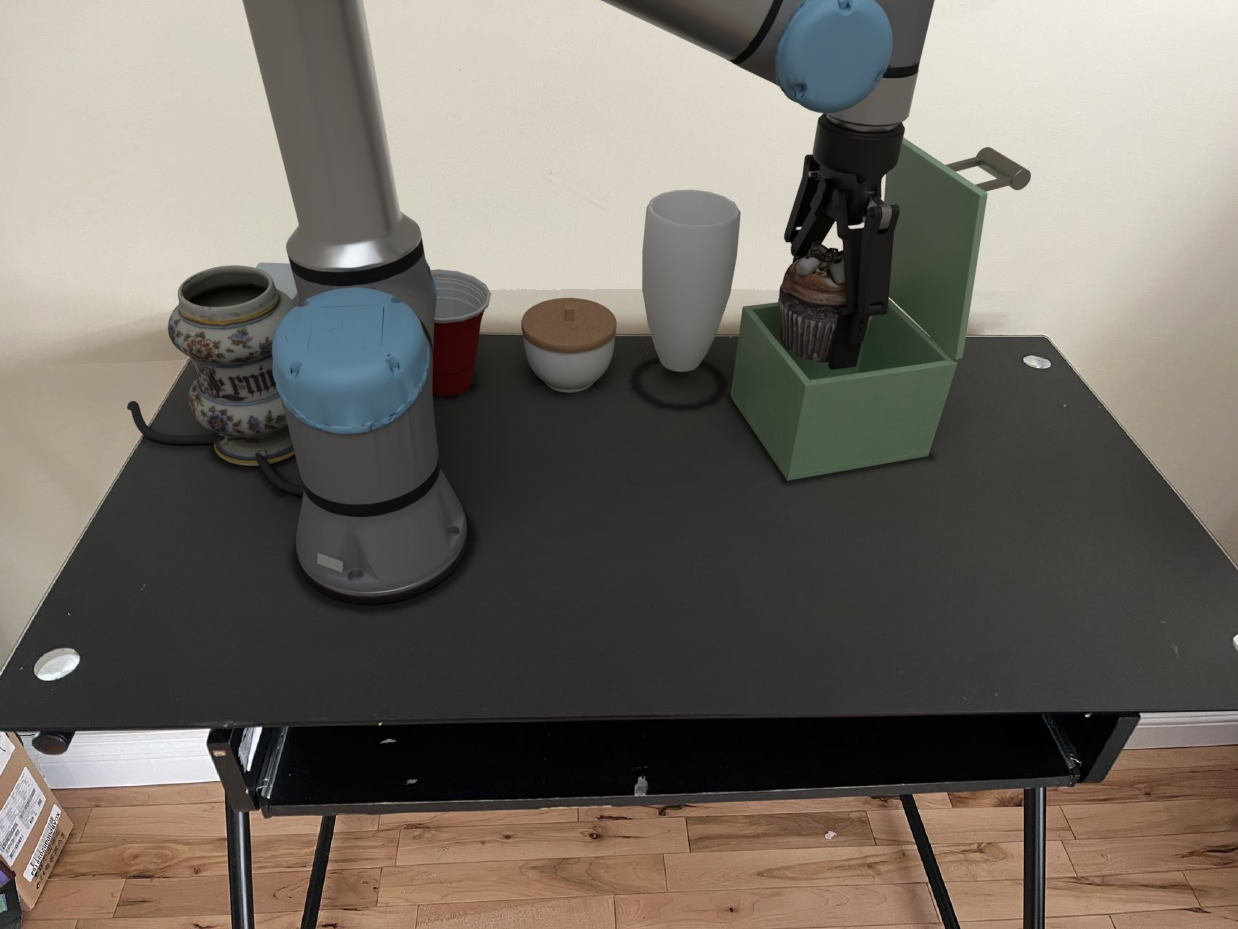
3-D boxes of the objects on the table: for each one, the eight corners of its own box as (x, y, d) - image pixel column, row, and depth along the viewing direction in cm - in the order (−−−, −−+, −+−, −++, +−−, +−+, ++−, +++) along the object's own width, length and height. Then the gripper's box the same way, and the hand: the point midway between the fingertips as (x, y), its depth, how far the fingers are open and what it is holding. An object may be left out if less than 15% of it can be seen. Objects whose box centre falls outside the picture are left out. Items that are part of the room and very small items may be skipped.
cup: (615, 378, 107) (622, 203, 93) (677, 349, 112) (692, 179, 99) (678, 418, 101) (695, 238, 87) (740, 385, 107) (765, 211, 93)
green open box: (787, 480, 93) (805, 385, 86) (730, 396, 105) (742, 306, 97) (928, 456, 97) (958, 363, 90) (858, 377, 109) (879, 289, 101)
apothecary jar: (291, 481, 90) (252, 324, 79) (180, 464, 92) (125, 307, 81) (342, 412, 100) (313, 262, 88) (240, 398, 101) (198, 249, 90)
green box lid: (980, 195, 78) (1070, 171, 79) (888, 133, 90) (968, 113, 91) (955, 360, 89) (1034, 337, 91) (877, 286, 101) (948, 267, 102)
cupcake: (767, 359, 90) (781, 267, 84) (776, 312, 97) (790, 224, 91) (865, 374, 88) (887, 281, 82) (867, 325, 96) (888, 237, 90)
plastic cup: (479, 416, 100) (472, 321, 93) (386, 402, 102) (372, 307, 94) (508, 364, 108) (503, 273, 101) (422, 352, 110) (411, 261, 102)
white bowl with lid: (504, 382, 105) (500, 311, 100) (560, 344, 112) (560, 275, 106) (578, 415, 101) (578, 343, 95) (632, 373, 108) (635, 303, 102)
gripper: (770, 81, 86) (742, 292, 100) (888, 167, 70) (835, 405, 84) (841, 77, 88) (804, 285, 102) (973, 160, 71) (907, 394, 86)
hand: (818, 339), depth 93 cm, fingers closed on cupcake, 10 cm apart
